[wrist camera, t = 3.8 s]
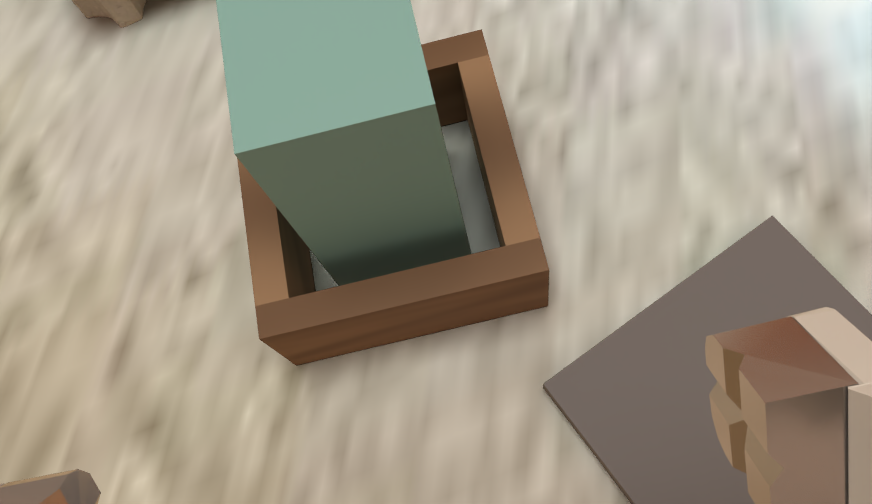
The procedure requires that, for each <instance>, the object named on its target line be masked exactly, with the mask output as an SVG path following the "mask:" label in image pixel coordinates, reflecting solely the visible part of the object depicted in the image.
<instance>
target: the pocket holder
mask: <svg viewBox="0 0 872 504" xmlns="http://www.w3.org/2000/svg"><path fill="white" fill-rule="evenodd" d="M421 47H422V51H423V55H424V59H425V63H426V68H427V72H428V76H429V80H430V84H431V88H432V92H433V97H434V101H435V105H436V109H437V113H438V117H439V122H440V126H444V125H448V124H452V123H456V122H460V121H464V120H468V123H469V127H470V130H471V134H472V138H473V142H474V146H475V150H476V154H477V158H478V161H479V165H480V169H481V173H482V177H483V181H484V185H485V189H486V192H487V196H488V200H489V204H490V208H491V212H492V216H493V220H494V223H495V227H496V231H497V235H498V239H499V243H500V247H499V248H495V249H491V250H487V251H482V252H478V253H474V254H470V255H466V256H462V257H458V258H453V259H449V260H445V261H441V262H437V263H433V264H428V265H424V266H420V267H416V268H412V269H408V270H403V271H399V272H395V273H391V274H387V275H383V276H379V277H374V278H370V279H366V280H362V281H358V282H354V283H349V284H345V285H341V286H337V287H333V288H329V289H325V290H320V291H315V285H314V278H313V272H312V265H311V259H310V252H309V247H308V246H307V245H306V244H305V242H304V241H303V240H302V238H301V237H300V236H299V235H298V233H297V232H296V231H295V230H294V228H293V227H292V226H291V225H290V223H289V222H288V221H287V220H286V218H285V217H284V216H283V215H282V213H281V212H280V211H279V209H278V208H277V207H276V206H275V204H274V203H273V202H272V201H271V199H270V198H269V197H268V196H267V194H266V193H265V192H264V191H263V189H262V188H261V187H260V185H259V184H258V183H257V182H256V180H255V179H254V178H253V177H252V175H251V174H250V173H249V172H248V170H247V169H246V168H245V167H244V165H243V164H242V163H241V162H240V160H239V159H238V158H237V159H238V167H239V175H240V184H241V192H242V200H243V208H244V217H245V225H246V233H247V242H248V250H249V258H250V266H251V275H252V283H253V291H254V300H255V308H256V316H257V324H258V333H259V339H260V340H261V341H263V342H264V343H265V344H267V345H268V346H270V347H271V348H273V349H274V350H275V351H277V352H278V353H280V354H281V355H282V356H284V357H285V358H287V359H288V360H289V361H291V362H292V363H294V364H295V365H300V364H304V363H308V362H313V361H317V360H321V359H325V358H330V357H334V356H338V355H342V354H347V353H351V352H355V351H359V350H363V349H368V348H372V347H376V346H380V345H385V344H389V343H393V342H397V341H402V340H406V339H410V338H414V337H418V336H423V335H427V334H431V333H435V332H440V331H444V330H448V329H452V328H457V327H461V326H465V325H469V324H473V323H478V322H482V321H486V320H490V319H495V318H499V317H503V316H507V315H512V314H516V313H520V312H524V311H528V310H533V309H537V308H541V307H545V306H548V290H549V268H548V264H547V261H546V257H545V253H544V250H543V246H542V243H541V239H540V236H539V232H538V229H537V225H536V221H535V218H534V214H533V211H532V207H531V204H530V200H529V196H528V193H527V189H526V186H525V182H524V179H523V175H522V172H521V168H520V164H519V161H518V157H517V154H516V150H515V147H514V143H513V140H512V136H511V132H510V129H509V125H508V122H507V118H506V115H505V111H504V107H503V104H502V100H501V97H500V93H499V90H498V86H497V83H496V79H495V75H494V72H493V68H492V65H491V61H490V58H489V54H488V50H487V47H486V43H485V40H484V36H483V33H482V29H481V30H477V31H474V32H470V33H466V34H462V35H458V36H454V37H450V38H446V39H442V40H438V41H434V42H430V43H426V44H422V45H421Z"/></svg>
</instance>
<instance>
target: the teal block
mask: <svg viewBox="0 0 872 504" xmlns="http://www.w3.org/2000/svg"><path fill="white" fill-rule="evenodd" d="M216 4H217V12H218V20H219V29H220V37H221V45H222V54H223V62H224V70H225V79H226V87H227V96H228V104H229V112H230V121H231V129H232V137H233V146H234V154H235V155H236V156H237V158H238V159H239V160H240V162H241V163H242V164H243V165H244V167H245V168H246V169H247V170H248V172H249V173H250V174H251V175H252V177H253V178H254V179H255V180H256V182H257V183H258V184H259V185H260V187H261V188H262V189H263V191H264V192H265V193H266V194H267V196H268V197H269V198H270V199H271V201H272V202H273V203H274V204H275V206H276V207H277V208H278V209H279V211H280V212H281V213H282V215H283V216H284V217H285V218H286V220H287V221H288V222H289V223H290V225H291V226H292V227H293V228H294V230H295V231H296V232H297V233H298V235H299V236H300V237H301V238H302V240H303V241H304V242H305V244H306V245H307V246H308V247H309V249H310V250H311V251H312V252H313V254H314V255H315V256H316V257H317V259H318V260H319V261H320V262H321V264H322V265H323V266H324V267H325V269H326V270H327V271H328V273H329V274H330V275H331V276H332V278H333V279H334V280H335V281H336V283H337V284H338V285H339V286H341V285H345V284H349V283H354V282H358V281H362V280H366V279H370V278H374V277H379V276H383V275H387V274H391V273H395V272H399V271H403V270H408V269H412V268H416V267H420V266H424V265H428V264H433V263H437V262H441V261H445V260H449V259H453V258H458V257H462V256H466V255H470V254H471V250H470V246H469V242H468V238H467V234H466V230H465V225H464V221H463V217H462V213H461V209H460V205H459V200H458V196H457V192H456V188H455V184H454V180H453V176H452V171H451V167H450V163H449V159H448V155H447V151H446V146H445V142H444V138H443V134H442V130H441V126H440V122H439V117H438V113H437V109H436V105H435V101H434V97H433V92H432V88H431V84H430V80H429V76H428V72H427V68H426V63H425V59H424V55H423V51H422V47H421V43H420V39H419V34H418V30H417V26H416V22H415V18H414V14H413V10H412V5H411V1H410V0H216Z"/></svg>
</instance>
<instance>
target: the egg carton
mask: <svg viewBox="0 0 872 504" xmlns="http://www.w3.org/2000/svg"><path fill="white" fill-rule="evenodd" d="M72 1H73V2H74V4H75V5H76V6H77V7H78V8H79V9H80V10H81V11H82V13H83V14H84V15H85V16H86V18H92V17H109V18H111V19H113V20H114V21H115V22H116V23H117V24H118V25H119V26H120V27H121V28H123V27H126V26H128V25H131V24H133V23H135V22H137V21H139V20H141V19H142V18H143V9H144V6H145V3H146V1H147V0H72Z"/></svg>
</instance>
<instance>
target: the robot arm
mask: <svg viewBox="0 0 872 504" xmlns="http://www.w3.org/2000/svg"><path fill="white" fill-rule="evenodd" d="M705 354H706V365H707V366H708V368H709V369H710V371H711V372H712V374H713V375H714V377H715V378H716V380H717V383H716V384H715V386H714V387H713V389H712V391H711V392H710V394H709V397H710V404H711V412H712V418H713V422H714V426H715V429H716V433H717V437H718V439H719V442H720V444H721V446H722V448H723V451H724V453H725V455H726V456H727V458H728V460H729V461H730V463H731V465H732V467H734V468H736V469H738V470H740V471H742V472H744V473H746V474H747V485H748V493H749V495H750V496H751V498H752V499H753V501H754V503H755V504H872V341H871V340H870V339H869V338H867V337H866V336H865V335H864V334H863V333H862V332H861V331H859V330H858V329H857V328H856V327H855V326H854V325H852V324H851V323H850V322H849V321H848V320H847V319H846V318H844V317H843V316H842V315H841V314H840V313H839V312H838V311H836V310H835V309H832V308H829V307H823V308H819V309H815V310H811V311H807V312H803V313H799V314H795V315H792V316H788V317H786V318H781V319H777V320H773V321H769V322H764V323H760V324H756V325H752V326H747V327H743V328H739V329H735V330H730V331H726V332H722V333H718V334H713V335H709V336H706V343H705ZM100 494H101V492H100V491H99V489H98V487H97V485H96V484H95V482H94V480H93V478H92V477H91V475H90V473H87V472H85V471H82V470H79V469H76V470H71V471H65V472H60V473H55V474H50V475H45V476H39V477H34V478H29V479H24V480H18V481H13V482H8V483H6V484H0V504H98V501H99V497H100Z"/></svg>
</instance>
